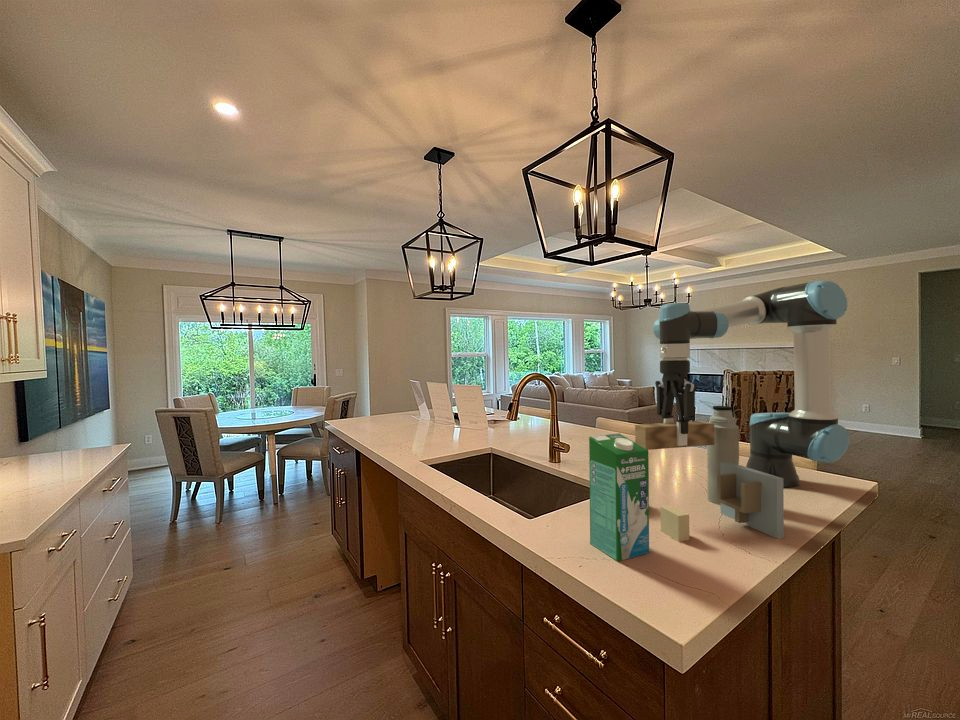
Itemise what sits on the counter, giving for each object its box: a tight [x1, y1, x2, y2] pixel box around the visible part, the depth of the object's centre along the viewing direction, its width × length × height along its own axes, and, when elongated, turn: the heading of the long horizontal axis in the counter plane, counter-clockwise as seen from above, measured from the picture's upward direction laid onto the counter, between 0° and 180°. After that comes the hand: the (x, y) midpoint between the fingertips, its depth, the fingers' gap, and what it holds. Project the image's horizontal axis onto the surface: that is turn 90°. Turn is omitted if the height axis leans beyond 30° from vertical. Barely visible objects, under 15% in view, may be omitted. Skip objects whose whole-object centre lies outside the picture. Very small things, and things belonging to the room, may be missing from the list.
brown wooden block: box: [634, 420, 715, 451], centre depth 112 cm, size 22×4×6 cm, turn 104°
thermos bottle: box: [706, 405, 740, 506], centre depth 118 cm, size 8×8×28 cm
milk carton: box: [588, 433, 650, 562], centre depth 91 cm, size 9×9×25 cm
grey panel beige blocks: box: [660, 461, 785, 543], centre depth 99 cm, size 25×16×14 cm, turn 104°
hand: (675, 443), depth 112 cm, fingers closed on brown wooden block, 5 cm apart
